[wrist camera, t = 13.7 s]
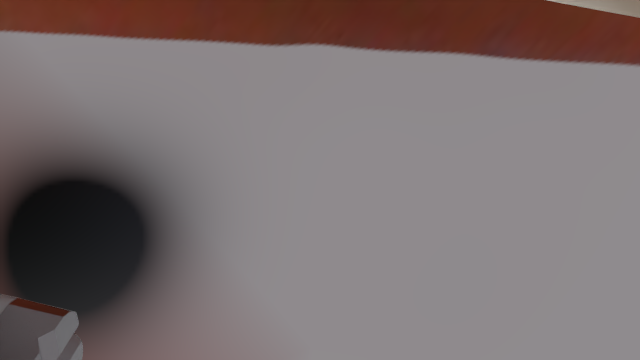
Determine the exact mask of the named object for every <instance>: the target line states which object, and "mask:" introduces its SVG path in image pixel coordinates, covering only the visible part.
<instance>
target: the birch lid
mask: <svg viewBox="0 0 640 360" xmlns="http://www.w3.org/2000/svg"><path fill="white" fill-rule="evenodd" d="M548 1H553V2H558V3H564V4H569V5H574V6H580V7H585V8H590V9H596V10H601V11H607V12H612V13H617V14H623V15H628V16H633V17H639V18H640V0H548Z"/></svg>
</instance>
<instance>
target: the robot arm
mask: <svg viewBox="0 0 640 360" xmlns="http://www.w3.org/2000/svg"><path fill="white" fill-rule="evenodd" d="M78 325H79V322H78V318H77V313H76V312H73V311H69V310H65V309H61V308H57V307H53V306H48V305H44V304H40V303H36V302H32V301H28V300H24V299H20V298H16V297H12V296H7V295H2V294H0V360H82V354H83V347H82V341H81V340H80V338H79V337H78V336H77V335H75V333H74V332H75V330H76V329H77V327H78Z"/></svg>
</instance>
